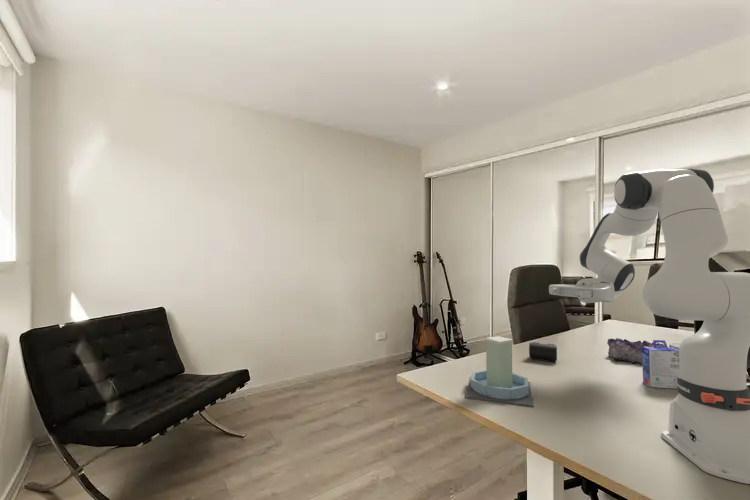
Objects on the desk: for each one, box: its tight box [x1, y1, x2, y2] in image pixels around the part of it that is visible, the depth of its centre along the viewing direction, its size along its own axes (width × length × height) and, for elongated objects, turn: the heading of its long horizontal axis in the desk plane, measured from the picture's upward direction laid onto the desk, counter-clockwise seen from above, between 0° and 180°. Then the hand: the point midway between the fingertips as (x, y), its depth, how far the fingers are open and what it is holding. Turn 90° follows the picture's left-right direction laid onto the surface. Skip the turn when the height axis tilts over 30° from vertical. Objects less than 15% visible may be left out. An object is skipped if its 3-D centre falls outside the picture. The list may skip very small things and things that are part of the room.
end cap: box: [528, 341, 558, 363], centre depth 145 cm, size 10×7×7 cm
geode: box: [606, 337, 664, 365], centre depth 143 cm, size 20×12×10 cm, turn 56°
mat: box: [464, 378, 535, 408], centre depth 114 cm, size 20×19×1 cm
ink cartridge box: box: [641, 339, 679, 390], centre depth 117 cm, size 10×6×14 cm, turn 78°
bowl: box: [470, 369, 529, 400], centre depth 114 cm, size 17×17×3 cm
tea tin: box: [485, 335, 513, 388], centre depth 114 cm, size 6×6×15 cm
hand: (565, 292), depth 123 cm, fingers open, 8 cm apart
